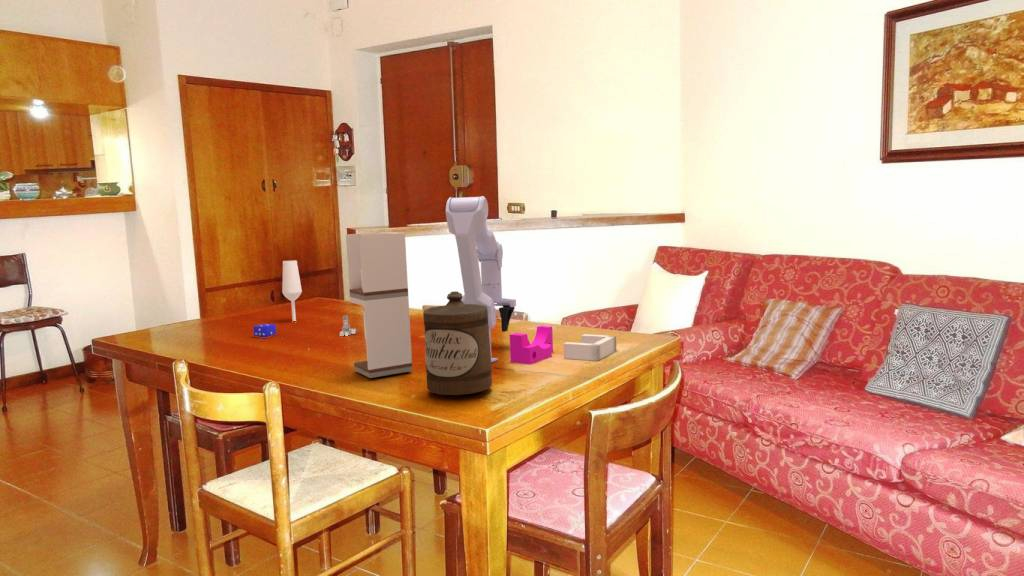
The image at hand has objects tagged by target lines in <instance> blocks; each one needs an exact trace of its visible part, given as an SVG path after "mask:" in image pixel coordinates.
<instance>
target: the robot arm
mask: <svg viewBox="0 0 1024 576" xmlns="http://www.w3.org/2000/svg"><path fill="white" fill-rule="evenodd" d="M488 215H489V203H488V200H487V198H486V197H485V196H484V195H482V196H481V195H480V196H469V197H467V196H466V197H465V196H464V197H453V196H452V197H451V196H450V197H449V198H448V199H447V201H446V205H445V217H446V224H447V228H448V232H449V233H450V234H453V236H454V237H455V242H456V247H457V252H458V260H459V266H460V267H459V268H460V272H461V279H462V287H463V293H464V295H463V294H462V299H461V301H462V302H463V303H464V304H475V305H483V306H486V307H487V310H488V327H489V340H490V352H491V353H492V339H491V337H492V335H491V334H492V333H491V330H492V329H494V327H495V326H496V323H497V310H496V307H499V308H498V311H499V315H500V321H501V322H500V323H501V325H500V326H501V332H503V333H504V332H508V330H509V324H510V320H511V317H512V315H513V313H514V311H515V307H516V306H517V299H513V298H505V297H503V289H502V268H503V257H504V255H503V254H504V253H503V252H504V251H503V245H502V244H501V243H499V242H498V240H497V239H496V237H495V234H494V232H493V230H492V228H490V227H488V226H487V219H488ZM497 361H499V358H498V357H492V355H491V364H492V363H494V362H497Z"/></svg>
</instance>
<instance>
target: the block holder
mask: <svg viewBox="0 0 1024 576" xmlns="http://www.w3.org/2000/svg"><path fill="white" fill-rule="evenodd" d="M580 336H581V342H573V341H572V342H569V341H566V342H564V343H563V358H564V359H567V360H579V361H591V362H594V361H595V362H598V361H600V360H602V359H604V358H605V357H607V356H609V355H611V354H613V353H614V352H616V351H617V336H616V335H607V334H605V335H604V334H587V333H584V334H582V335H580Z"/></svg>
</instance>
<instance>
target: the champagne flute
mask: <svg viewBox="0 0 1024 576" xmlns="http://www.w3.org/2000/svg"><path fill="white" fill-rule="evenodd" d="M300 278H301V277H300V273H299V266H298V260H295V259H293V260H283V261H282V285H281V286H282V288H281V289H282V290H281V293H282V294H283V296H284V297H285V298H286V299H287V300H289V301H290V302H291V305H290V306H291V316H292V317H291V319H292V322H293V321H296V322H297V317H296V302H295V301H296V300H297V299H299V297H300V296H301V294H303V290H302V285H301V284H302V283H301V279H300Z"/></svg>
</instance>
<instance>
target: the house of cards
mask: <svg viewBox="0 0 1024 576" xmlns="http://www.w3.org/2000/svg"><path fill="white" fill-rule="evenodd" d="M342 322H343V326H342V330H341V331H339V337H340V336H344V335H345V336H348V335H350V336H351V334H355V335H356V334H357V329H356V328H351V325H350V324H349V317H348V315H343V316H342ZM348 337H349V336H348Z"/></svg>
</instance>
